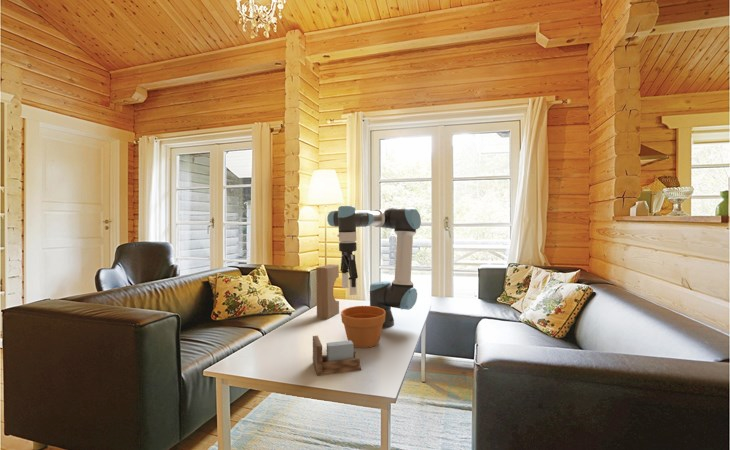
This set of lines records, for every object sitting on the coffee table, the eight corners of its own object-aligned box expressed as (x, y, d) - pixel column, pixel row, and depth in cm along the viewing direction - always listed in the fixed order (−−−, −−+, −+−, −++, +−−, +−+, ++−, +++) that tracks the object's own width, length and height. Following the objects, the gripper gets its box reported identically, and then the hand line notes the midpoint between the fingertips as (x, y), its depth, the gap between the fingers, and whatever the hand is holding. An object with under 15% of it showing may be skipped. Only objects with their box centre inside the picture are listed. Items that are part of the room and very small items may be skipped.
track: (353, 357, 143) (353, 331, 142) (361, 369, 131) (360, 341, 131) (312, 362, 138) (312, 335, 138) (317, 375, 126) (316, 346, 126)
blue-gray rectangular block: (351, 359, 138) (351, 340, 138) (353, 363, 134) (353, 343, 134) (326, 362, 136) (326, 342, 135) (328, 366, 132) (328, 346, 132)
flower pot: (377, 353, 147) (377, 319, 147) (333, 347, 154) (333, 315, 154) (391, 337, 167) (390, 307, 167) (351, 333, 174) (351, 304, 174)
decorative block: (327, 319, 198) (327, 268, 197) (316, 318, 201) (316, 267, 200) (339, 312, 212) (339, 264, 211) (328, 311, 215) (328, 264, 214)
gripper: (333, 240, 156) (334, 285, 157) (346, 245, 132) (347, 298, 133) (348, 239, 158) (350, 284, 159) (364, 243, 134) (366, 296, 135)
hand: (349, 291), depth 146 cm, fingers open, 13 cm apart
